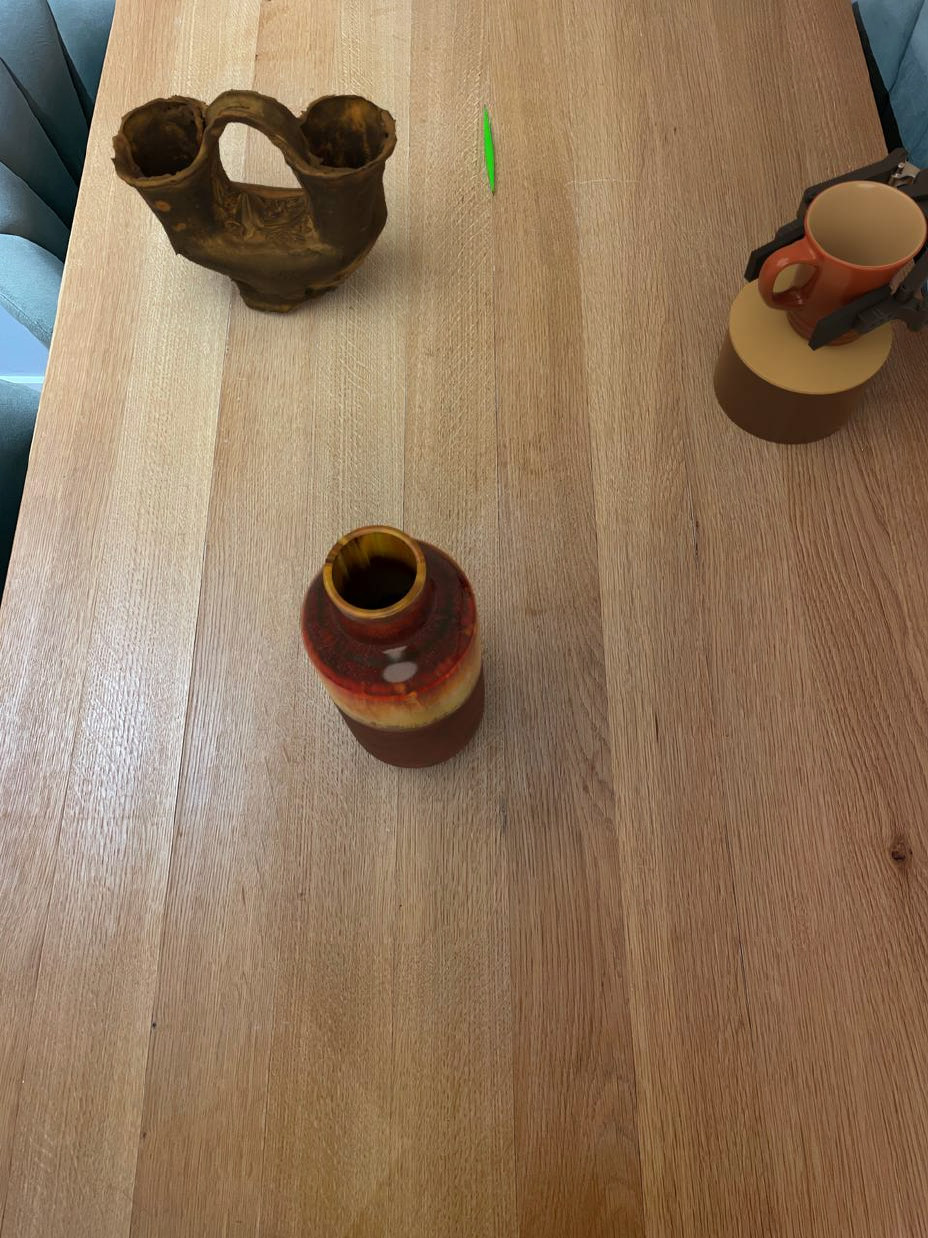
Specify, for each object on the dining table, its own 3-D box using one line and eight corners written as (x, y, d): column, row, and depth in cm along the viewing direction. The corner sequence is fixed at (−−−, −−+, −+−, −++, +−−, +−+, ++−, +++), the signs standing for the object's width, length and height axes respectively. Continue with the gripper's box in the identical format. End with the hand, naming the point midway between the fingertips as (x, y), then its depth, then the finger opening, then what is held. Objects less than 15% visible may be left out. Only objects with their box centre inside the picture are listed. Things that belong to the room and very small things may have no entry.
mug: (851, 266, 81) (893, 167, 72) (899, 342, 78) (949, 249, 69) (720, 304, 81) (746, 209, 71) (763, 383, 77) (795, 294, 68)
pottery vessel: (421, 236, 96) (399, 52, 77) (412, 322, 92) (387, 148, 73) (180, 235, 97) (104, 54, 79) (161, 318, 93) (76, 148, 75)
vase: (332, 676, 78) (250, 523, 54) (456, 628, 79) (431, 457, 55) (377, 800, 73) (310, 694, 49) (508, 747, 75) (505, 618, 51)
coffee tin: (855, 329, 89) (886, 267, 81) (864, 450, 83) (898, 395, 76) (711, 322, 90) (728, 260, 82) (711, 441, 85) (730, 387, 77)
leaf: (489, 200, 97) (489, 194, 96) (480, 105, 103) (480, 98, 102) (497, 200, 97) (497, 193, 96) (488, 104, 103) (488, 97, 102)
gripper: (1075, 293, 76) (852, 421, 73) (906, 143, 84) (695, 253, 80) (1131, 221, 70) (887, 359, 66) (942, 64, 77) (712, 181, 73)
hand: (782, 300), depth 73 cm, fingers closed on mug, 7 cm apart
